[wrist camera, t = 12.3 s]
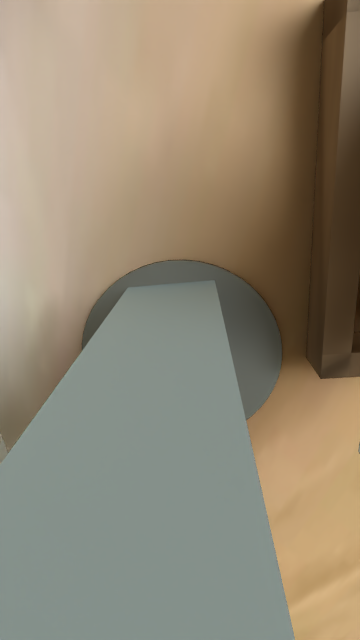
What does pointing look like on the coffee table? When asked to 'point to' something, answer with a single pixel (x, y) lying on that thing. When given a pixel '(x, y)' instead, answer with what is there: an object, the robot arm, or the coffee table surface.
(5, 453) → the robot arm
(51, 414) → the light blue block
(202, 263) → the coaster
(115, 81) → the coffee table surface
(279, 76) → the coffee table surface
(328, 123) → the rack
